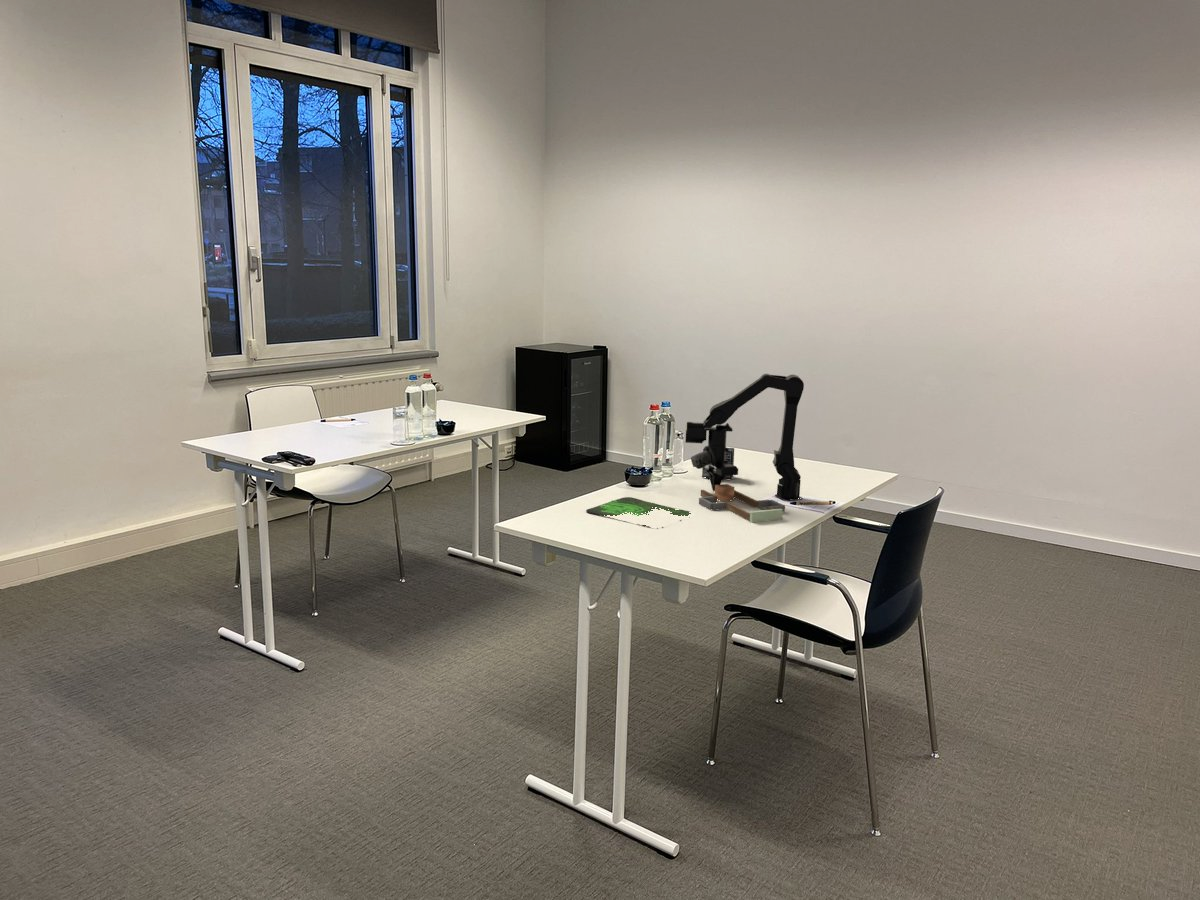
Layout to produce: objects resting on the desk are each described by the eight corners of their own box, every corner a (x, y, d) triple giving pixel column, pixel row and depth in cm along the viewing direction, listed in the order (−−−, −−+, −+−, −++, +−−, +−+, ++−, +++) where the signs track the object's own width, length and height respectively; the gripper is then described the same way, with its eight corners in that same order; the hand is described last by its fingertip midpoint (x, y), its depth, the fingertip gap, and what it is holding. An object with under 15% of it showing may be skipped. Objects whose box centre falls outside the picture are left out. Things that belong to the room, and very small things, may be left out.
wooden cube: (726, 497, 286) (727, 483, 285) (733, 500, 282) (734, 487, 281) (714, 498, 285) (715, 484, 284) (721, 502, 281) (722, 488, 280)
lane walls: (728, 493, 291) (729, 487, 290) (780, 518, 264) (780, 511, 263) (700, 495, 287) (700, 489, 286) (749, 521, 260) (750, 514, 259)
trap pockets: (755, 498, 286) (755, 492, 285) (785, 512, 270) (785, 506, 270) (698, 503, 278) (698, 497, 277) (725, 518, 262) (725, 511, 262)
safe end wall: (780, 518, 264) (780, 508, 263) (782, 519, 263) (782, 509, 262) (749, 521, 260) (750, 511, 259) (751, 522, 259) (752, 512, 258)
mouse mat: (699, 514, 267) (699, 511, 267) (659, 531, 250) (659, 527, 249) (625, 498, 283) (625, 495, 282) (582, 513, 265) (582, 510, 265)
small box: (733, 476, 314) (735, 447, 312) (731, 480, 308) (733, 451, 306) (703, 473, 317) (705, 445, 315) (701, 478, 311) (702, 448, 309)
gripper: (681, 439, 291) (679, 485, 294) (709, 451, 274) (706, 500, 277) (711, 438, 295) (708, 483, 298) (740, 449, 278) (737, 497, 281)
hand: (714, 490), depth 289 cm, fingers closed
